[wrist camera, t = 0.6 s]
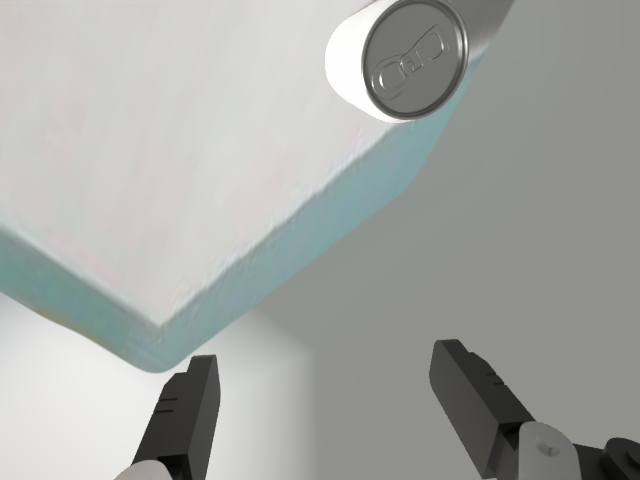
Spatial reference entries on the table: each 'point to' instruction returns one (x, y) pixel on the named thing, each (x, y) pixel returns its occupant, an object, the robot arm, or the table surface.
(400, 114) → the can
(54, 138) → the table surface
